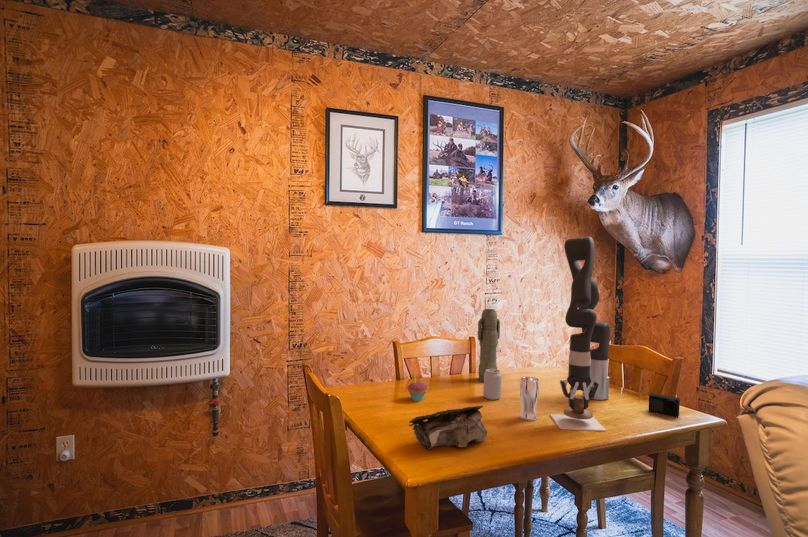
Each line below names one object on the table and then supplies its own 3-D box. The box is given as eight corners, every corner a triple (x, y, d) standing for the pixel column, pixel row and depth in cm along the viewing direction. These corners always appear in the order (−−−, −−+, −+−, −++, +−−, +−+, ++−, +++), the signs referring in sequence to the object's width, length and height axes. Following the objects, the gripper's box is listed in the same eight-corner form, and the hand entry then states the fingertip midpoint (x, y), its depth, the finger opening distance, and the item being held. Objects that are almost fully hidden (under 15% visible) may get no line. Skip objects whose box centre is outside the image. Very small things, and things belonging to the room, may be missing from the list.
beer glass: (538, 416, 174) (539, 377, 174) (537, 422, 168) (538, 382, 167) (519, 413, 177) (521, 375, 176) (518, 419, 170) (519, 380, 170)
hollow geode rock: (411, 466, 140) (426, 445, 130) (398, 428, 148) (412, 405, 138) (486, 449, 152) (506, 429, 142) (471, 414, 160) (489, 392, 150)
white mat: (592, 417, 174) (592, 416, 174) (606, 431, 160) (606, 430, 160) (550, 415, 175) (550, 414, 175) (559, 429, 162) (559, 427, 162)
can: (501, 401, 192) (501, 373, 191) (483, 399, 193) (483, 371, 193) (500, 395, 199) (501, 368, 199) (483, 394, 200) (484, 367, 200)
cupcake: (404, 400, 189) (404, 372, 189) (411, 395, 197) (412, 367, 197) (423, 403, 186) (424, 374, 185) (430, 398, 194) (431, 370, 193)
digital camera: (647, 413, 181) (648, 395, 181) (649, 409, 186) (650, 392, 185) (677, 418, 175) (678, 401, 175) (679, 415, 180) (679, 397, 179)
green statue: (502, 380, 223) (504, 310, 222) (484, 384, 217) (486, 311, 216) (490, 376, 231) (492, 308, 230) (472, 379, 224) (474, 309, 223)
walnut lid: (587, 410, 173) (587, 394, 172) (596, 419, 163) (597, 403, 162) (560, 409, 173) (560, 393, 173) (568, 418, 163) (568, 402, 163)
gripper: (595, 360, 170) (594, 406, 171) (557, 359, 171) (555, 404, 172) (603, 365, 163) (601, 413, 164) (562, 364, 164) (561, 411, 165)
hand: (578, 408), depth 168 cm, fingers closed on walnut lid, 4 cm apart
